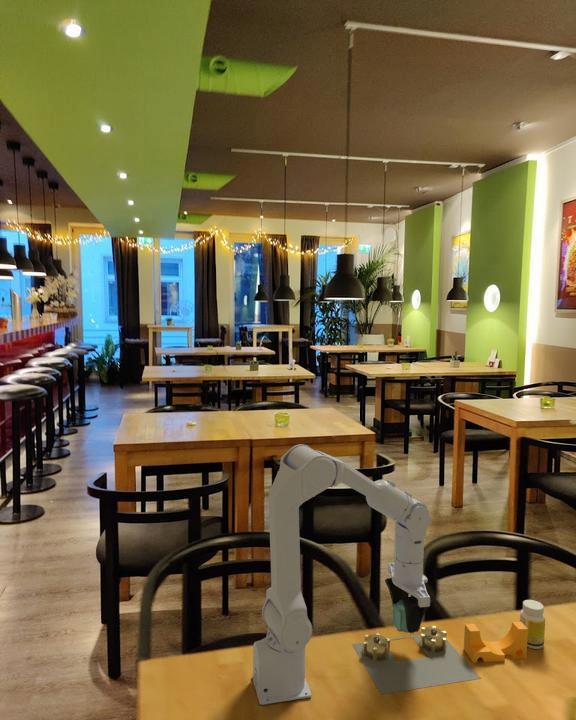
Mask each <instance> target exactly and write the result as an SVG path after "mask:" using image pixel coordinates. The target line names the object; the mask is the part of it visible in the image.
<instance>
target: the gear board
mask: <svg viewBox="0 0 576 720" xmlns="http://www.w3.org/2000/svg"><path fill="white" fill-rule="evenodd" d="M447 634H448V633H447V631H446V630H442V629H440V628H438V627H436V625H431V626H427V627H424V626H423V627H420V634H417V635H410V636H409V635H408V636H402V637H395V638H394V637H393V638H386V636H384V635H382V634H380V633H379V632H377V633H375V634H373V633H372V634H369V635H368V634H365V635H364V641H362V642H358V643H352V644H351V645H352V646H353V648H354V651H355V652H356V654H357V655H358V657H359V658H360V660H361V662H362V664H363V666H364V667H365V669H366V671H367V672H368V674H369V675H370V677H371V679H372V681H373V682H374V684H375V686H376V687H377V688H378V690H379V692H380V693H381V695H388V694H392V693H393V694H394V693H400V692H406V691H412V690H418V689H424V688H426V689H427V688H431V687H437V686H444V685H449V684H455V683H462V682H468V681H474V680H480V679H482V677H481V676H480V675H479V674H478V673H477V672H476V671H475V669H474V668H473V667H472V666H471V665H470V664H469V663H468V662H467V660H466V659H465V658H463V656H462V655H461V654H460V653H459V652H458V651H457V649H456V648H455V646H453V645H452V644H451V643H450V642H449V640H447V638H448V636H447ZM410 638H412V639H413V640H414V641H415V642H416V644H417V645H418V646H419V647H420V648H421V649H422V652H424V653H425V655H426V656H427V657H420V658H415V659H406V660H399V661H397V660H396V658H395V657H394V655H393V654H392V653H391V651H390V649H391V641H396V640H403V639H410Z"/></svg>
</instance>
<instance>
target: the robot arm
mask: <svg viewBox="0 0 576 720" xmlns="http://www.w3.org/2000/svg"><path fill="white" fill-rule="evenodd" d="M279 463H280V465H279V470H278V472H277V474H276V476H275V478H274V480H273V483H272V485H271V488H270V490H269V493H268V511H269V512H268V513H269V515H268V517H269V544H270V545H269V549H270V553H269V554H270V576H271V577H270V580H271V581H270V583H271V585H270V586H271V587H269V588H268V589H267V590H266V591H265V592H266V593H265V595H266V597H265V601H264V604H263V606H262V610H261V615H262V619H263V621H264V622H265V623H266V625H267V630H266V631H267V632H266V637H264V638H262V639H260V640H257V641H254V643H253V645H252V646H253V653H252V676H251V677H252V682H253V685H254V688H255V692H256V695H257V696H256V697H257V699H258V703H259V705H261V706H263V705H270V704H277V703H282V702H290V701H294V700H300V699H301V700H302V699H307V698H311V697H312V692H311V689H310V686H309V683H308V681H307V679H306V649H307V648H306V646H307V645H308V643H309V642H310V640H311V638H312V635H313V625H312V623H311V621H310V619H309V618H308V608H307V606H306V603H305V599H304V597H303V593H302V589H301V588H302V585H301V584H302V582H301V581H302V580H301V577H302V576H301V548H300V547H301V546H300V507H301V506H302V505H303V503H305V502H306V501H307V502H308V501H309V500H310V499H312V498H314V497H315V496H317V495H319V494H321V493H322V492H324V491H325V490H327V489H328V488H330V487H331V486H333V487H337V486H338V485H340V484H344V485H346V486H348V487H349V488H350V489H352V490H355V491H356V492H358V493H360V494H362V495H363V496H365V500H366V502H367V505H368V506H369V507H370V508H371V509H374V510H375V511H377V512H378V513H380V514H383V516H386V517H387V518H389V519H391V520H392V521H395V522H394V524H395V525H394V544H393V545H394V551H393V562H388V563H387V572H388V573H389V574H390V576H391V577H387V578H385V579H384V582H385V585H386V587H387V589H388V591H389V595H390V598H391V604H392V606H393V604H396V603H397V602H399V600H401V601H402V603H403V605H404V609H405V614H406V625H407V630H408V632H409V634H411V633H412V632H414V633H419V630H420V629H421V626H422V625H421V624H422V621H423V619H424V617H425V614H426V612H427V611H428V609H429V608H430V607H431V605H432V599H431V596H430V595H429V594H428V591H427V588H426V585H425V584H426V583H428V580H429V579H428V578H427V576H426V575H425V574H424V555H425V554H424V551H425V549H424V548H425V545H424V544H425V539H426V536H427V531H428V528H429V527H430V525H431V522H432V519H433V516H432V515H431V514H430V510H429V509H428V506H427V505H426V504H424V503H423V502H421V501H419V500H418V499H415V498H414V497H413V494H412V493H410V492H409V491H405V492H404V491H402V490H401V489H399V488H398V487H396V486H397V483H396V482H394V481H393V480H390V479H387V480H385V479H378V480H375V481H373V480H372V479H370V478H369V477H367V476H366V475H364V473H361V472H360V471H358V470H357V469H355V468H354V467H352V466H351V465H350V464H348V463H346V462H344V461H342V460H340V459H339V458H337V457H335V456H333V455H330V454H327V453H326V452H323V451H320V450H317V449H315V450H314V449H313V448H311V447H310V446H309V445H307V444H300V443H299V444H295V445H294V446H292V447H291V448H290V449H288V450H287V451H286V453H284V454H283V455H282V456H281V457H280V462H279ZM409 595H410V596H409ZM419 628H420V629H419Z"/></svg>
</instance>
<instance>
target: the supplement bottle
mask: <svg viewBox="0 0 576 720" xmlns="http://www.w3.org/2000/svg"><path fill="white" fill-rule="evenodd" d="M544 610H545V607H544V605H543V604H542V602H540V601H536V600H534V599H525V600H523V601H522V609H521V611H520V615H519V616H520V617H519V622H522V623H523V624H524V625H525V626H526V627H527V628H528V637H527V648H530V649H535V650H539V649H542V648H543V647H544V645H545V632H546V631H545V630H546V629H545V628H546V616H545V615H544V612H545V611H544Z"/></svg>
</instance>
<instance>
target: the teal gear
mask: <svg viewBox="0 0 576 720" xmlns="http://www.w3.org/2000/svg"><path fill="white" fill-rule="evenodd" d="M392 625H393V626H394V627H395V629H396V631H398V632H399V633H400V632H403V633H409V632H408V630H407V625H406V614H405V609H404V605H403V603H402V601H401V600H399V602H397V603H396V604H393V605H392ZM419 630H421V627H420V628H419ZM409 634H413V635H414V634H415V632H412V633H409Z"/></svg>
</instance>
